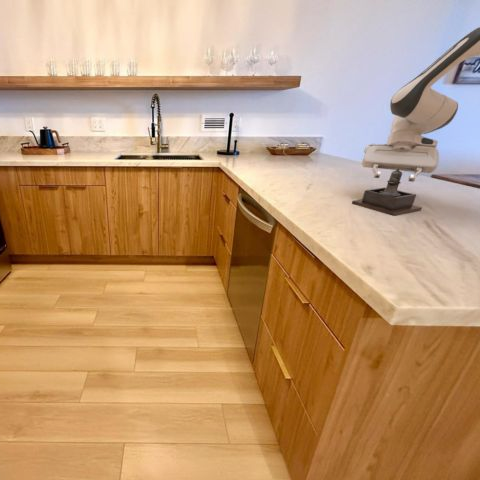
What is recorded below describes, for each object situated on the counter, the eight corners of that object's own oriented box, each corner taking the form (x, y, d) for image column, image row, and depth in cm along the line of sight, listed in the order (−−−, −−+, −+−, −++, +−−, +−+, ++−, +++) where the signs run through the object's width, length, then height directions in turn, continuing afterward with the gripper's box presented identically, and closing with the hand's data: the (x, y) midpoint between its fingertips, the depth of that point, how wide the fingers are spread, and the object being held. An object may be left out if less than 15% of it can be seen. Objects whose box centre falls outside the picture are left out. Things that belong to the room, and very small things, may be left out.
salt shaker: (378, 205, 96) (391, 168, 91) (373, 200, 101) (385, 165, 96) (400, 207, 94) (413, 170, 89) (393, 202, 99) (406, 166, 94)
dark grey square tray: (421, 210, 94) (427, 195, 92) (394, 215, 89) (399, 200, 87) (377, 199, 106) (382, 185, 104) (351, 203, 101) (355, 189, 99)
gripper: (368, 137, 102) (358, 169, 99) (444, 141, 92) (436, 177, 88) (364, 149, 107) (355, 180, 104) (436, 153, 97) (429, 188, 94)
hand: (393, 178), depth 96 cm, fingers open, 8 cm apart
